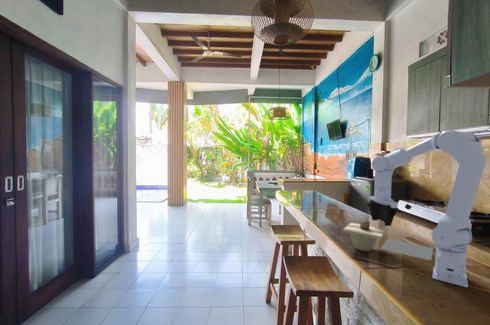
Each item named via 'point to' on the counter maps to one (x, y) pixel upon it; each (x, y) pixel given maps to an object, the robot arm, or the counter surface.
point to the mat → (408, 249)
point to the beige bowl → (363, 242)
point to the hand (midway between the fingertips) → (381, 222)
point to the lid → (365, 229)
